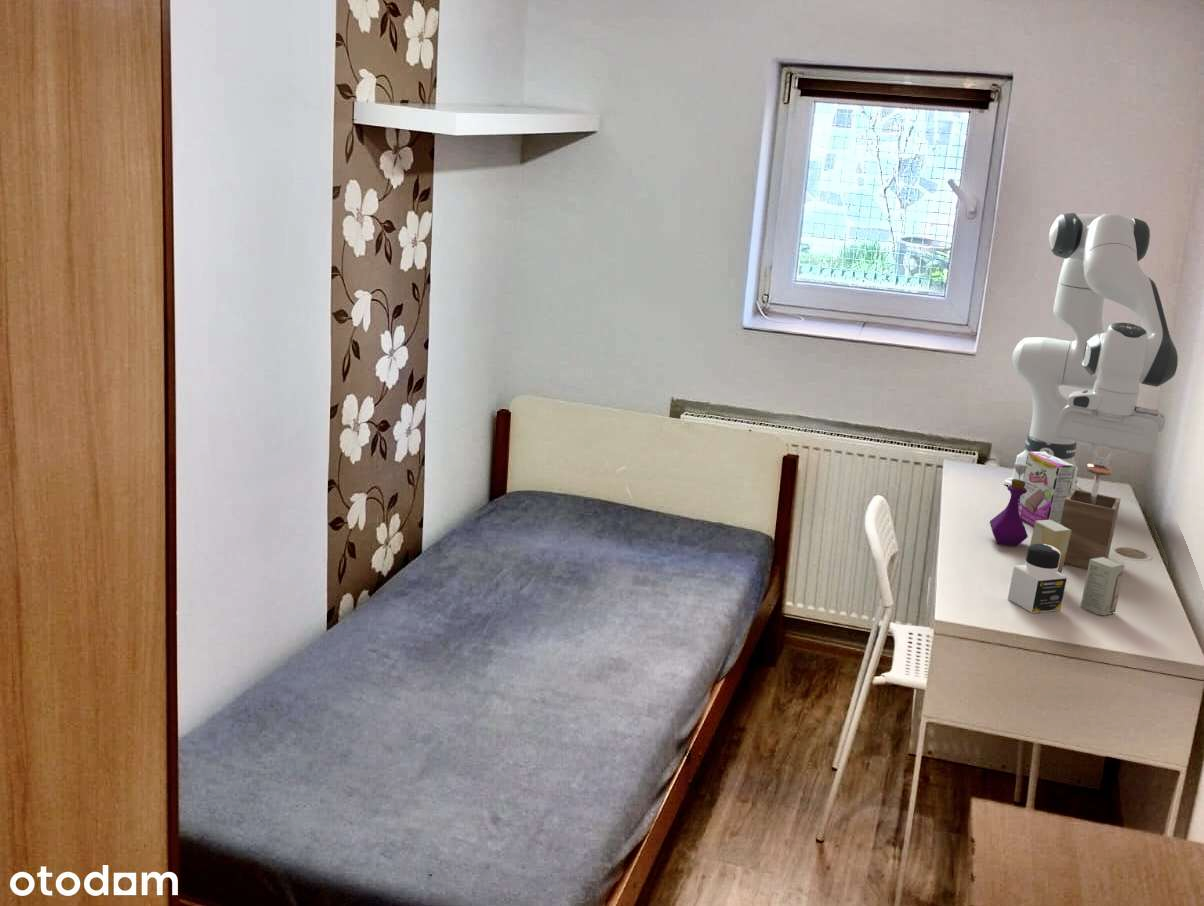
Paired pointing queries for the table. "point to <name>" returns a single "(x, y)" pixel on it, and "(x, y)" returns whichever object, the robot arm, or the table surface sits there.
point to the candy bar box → (1045, 487)
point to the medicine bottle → (1038, 580)
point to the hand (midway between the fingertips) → (1100, 466)
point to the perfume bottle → (1011, 515)
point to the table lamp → (1097, 478)
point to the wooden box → (1088, 526)
